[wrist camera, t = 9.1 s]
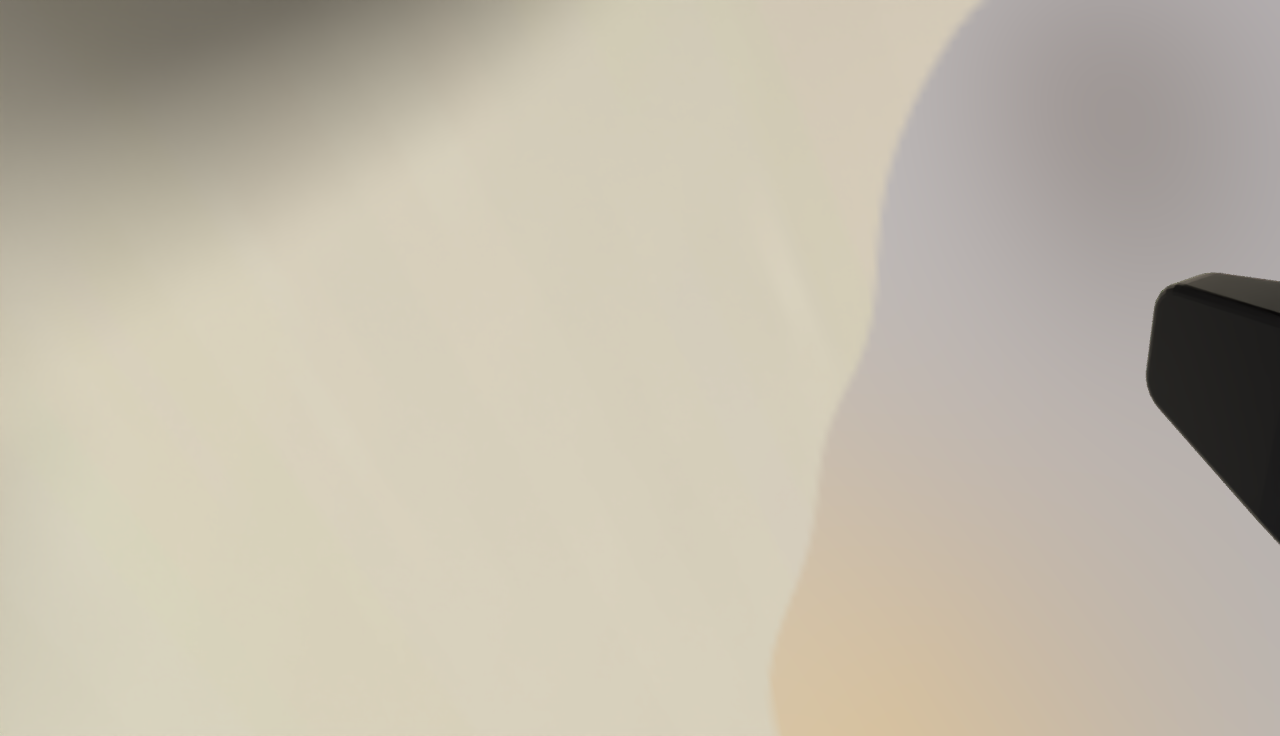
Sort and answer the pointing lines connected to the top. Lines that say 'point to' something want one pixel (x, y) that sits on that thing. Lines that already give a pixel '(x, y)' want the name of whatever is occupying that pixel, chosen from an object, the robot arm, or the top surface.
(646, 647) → the top surface
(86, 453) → the top surface
